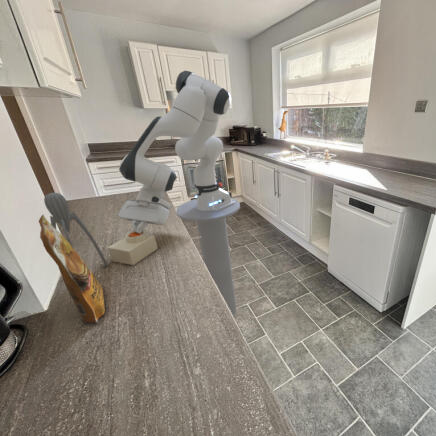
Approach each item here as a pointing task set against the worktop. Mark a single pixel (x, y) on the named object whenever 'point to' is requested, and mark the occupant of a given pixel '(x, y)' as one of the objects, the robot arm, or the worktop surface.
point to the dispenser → (132, 248)
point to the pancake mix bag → (74, 273)
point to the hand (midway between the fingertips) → (135, 232)
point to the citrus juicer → (66, 217)
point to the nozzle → (135, 234)
